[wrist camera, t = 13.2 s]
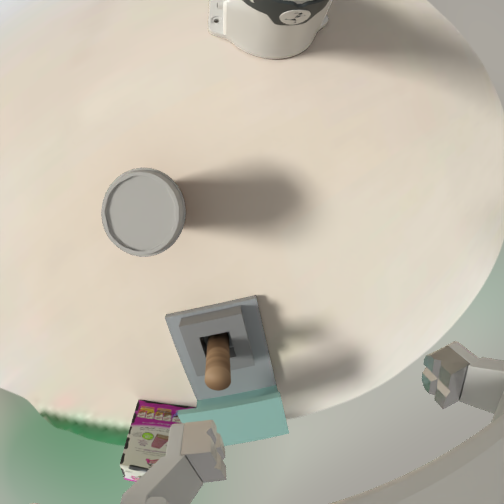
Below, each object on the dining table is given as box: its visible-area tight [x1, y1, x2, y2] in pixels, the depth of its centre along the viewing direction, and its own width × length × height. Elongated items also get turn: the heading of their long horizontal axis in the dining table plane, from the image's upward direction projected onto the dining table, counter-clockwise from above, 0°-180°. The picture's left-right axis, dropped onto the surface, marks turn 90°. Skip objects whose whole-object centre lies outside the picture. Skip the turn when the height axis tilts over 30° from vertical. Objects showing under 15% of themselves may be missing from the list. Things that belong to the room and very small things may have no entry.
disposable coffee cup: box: [101, 168, 186, 257], centre depth 35 cm, size 10×10×12 cm
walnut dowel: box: [205, 332, 231, 391], centre depth 39 cm, size 3×3×11 cm
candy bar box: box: [120, 400, 194, 482], centre depth 41 cm, size 11×5×16 cm, turn 82°
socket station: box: [165, 295, 289, 446], centre depth 41 cm, size 18×14×12 cm
